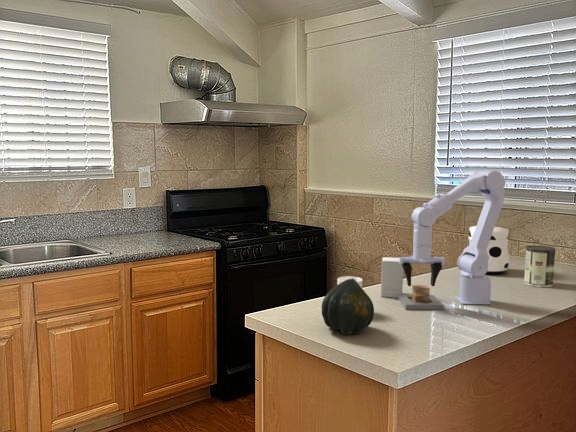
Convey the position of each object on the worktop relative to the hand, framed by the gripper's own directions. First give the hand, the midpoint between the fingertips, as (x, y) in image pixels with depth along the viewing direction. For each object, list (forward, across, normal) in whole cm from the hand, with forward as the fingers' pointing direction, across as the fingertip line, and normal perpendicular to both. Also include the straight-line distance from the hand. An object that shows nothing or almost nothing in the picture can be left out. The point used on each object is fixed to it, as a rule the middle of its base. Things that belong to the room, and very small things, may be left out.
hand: (420, 285), depth 187 cm
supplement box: (+7, -7, +12) cm, 15 cm away
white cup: (+6, -24, -7) cm, 26 cm away
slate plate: (+6, 0, 0) cm, 6 cm away
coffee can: (+7, +52, +29) cm, 60 cm away
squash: (+6, -27, -26) cm, 38 cm away
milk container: (+7, +40, +50) cm, 65 cm away
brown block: (+5, 0, 0) cm, 5 cm away
